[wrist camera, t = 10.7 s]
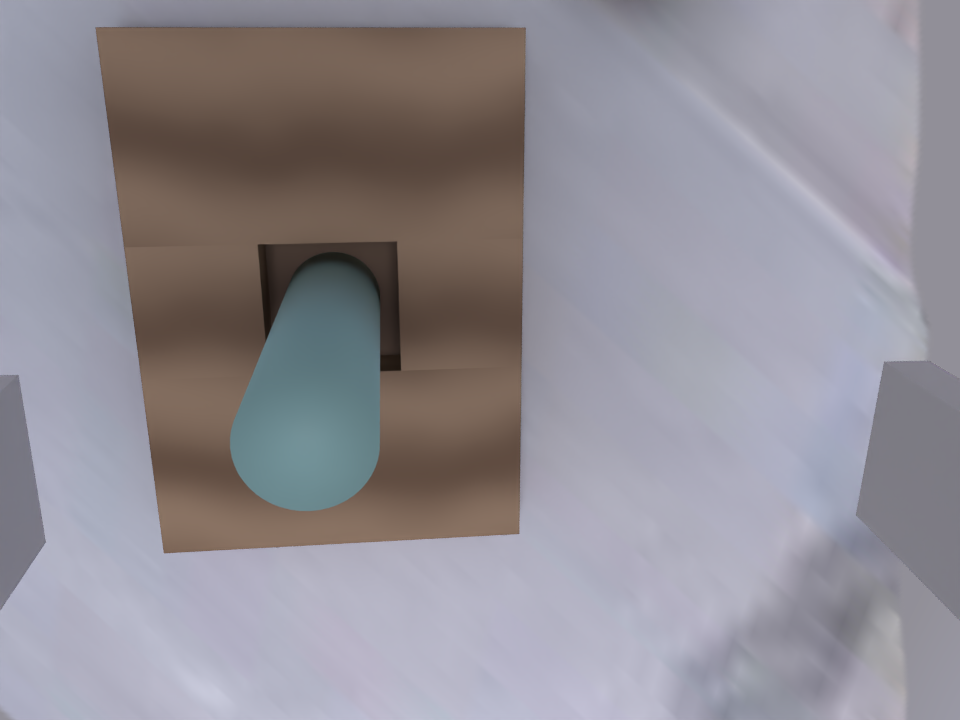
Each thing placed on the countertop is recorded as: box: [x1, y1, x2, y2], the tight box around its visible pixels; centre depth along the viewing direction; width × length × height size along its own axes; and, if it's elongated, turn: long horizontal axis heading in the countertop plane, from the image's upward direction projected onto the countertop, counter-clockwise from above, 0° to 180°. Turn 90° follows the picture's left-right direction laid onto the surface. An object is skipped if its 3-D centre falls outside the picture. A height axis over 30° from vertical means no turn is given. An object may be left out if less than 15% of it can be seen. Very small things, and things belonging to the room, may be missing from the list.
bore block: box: [96, 27, 526, 553], centre depth 39 cm, size 22×16×3 cm
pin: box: [230, 252, 380, 511], centre depth 32 cm, size 4×4×16 cm
